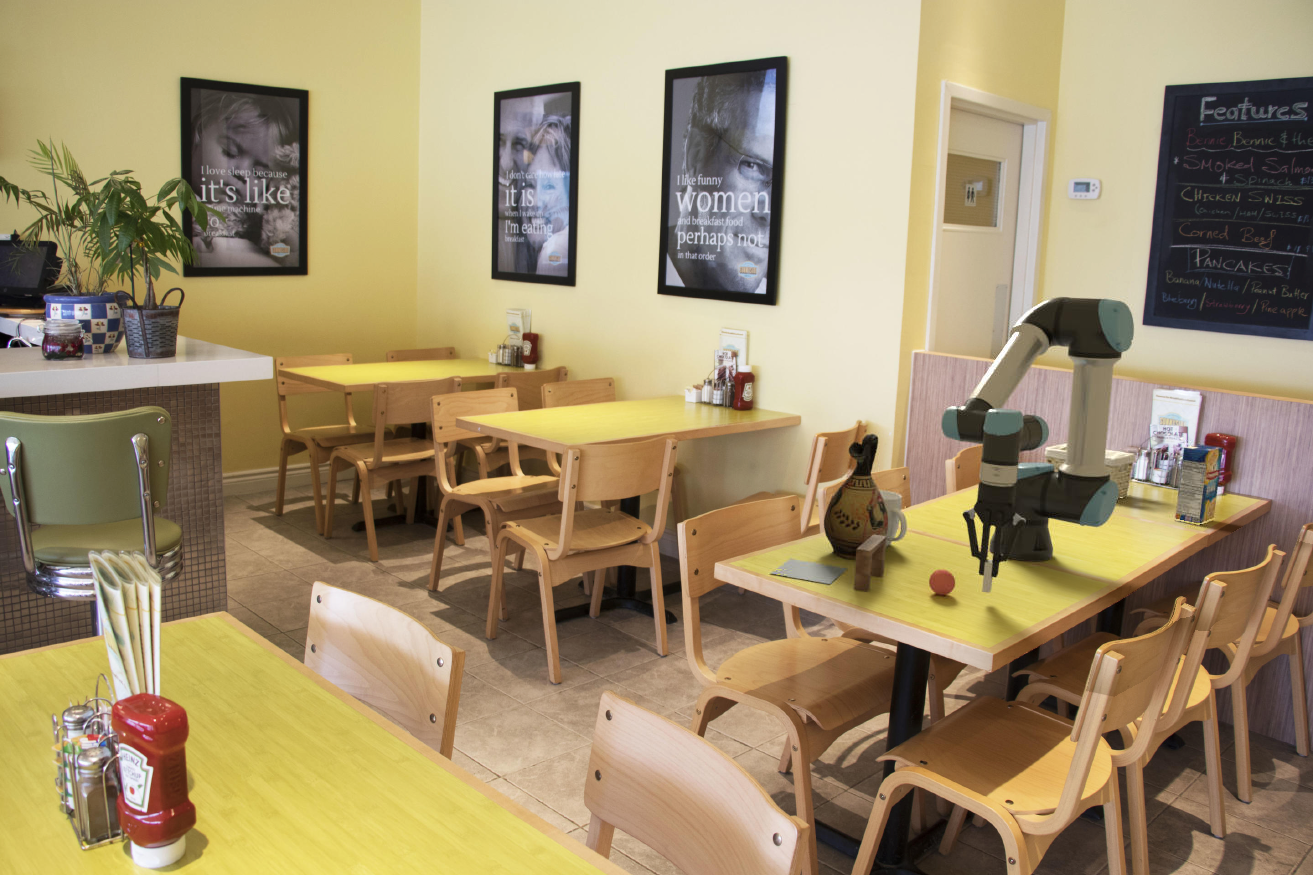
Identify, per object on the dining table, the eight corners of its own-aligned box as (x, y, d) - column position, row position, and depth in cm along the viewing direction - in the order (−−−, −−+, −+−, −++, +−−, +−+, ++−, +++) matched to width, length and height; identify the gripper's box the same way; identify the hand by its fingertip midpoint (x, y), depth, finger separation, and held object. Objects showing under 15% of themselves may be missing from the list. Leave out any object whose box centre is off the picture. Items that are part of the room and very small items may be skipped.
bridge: (883, 574, 237) (886, 536, 236) (867, 591, 224) (870, 550, 223) (870, 572, 239) (873, 534, 237) (853, 589, 226) (856, 548, 224)
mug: (918, 550, 260) (922, 499, 257) (887, 555, 254) (891, 504, 251) (875, 536, 272) (879, 487, 270) (845, 540, 266) (848, 491, 264)
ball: (956, 593, 226) (958, 568, 225) (951, 599, 221) (953, 575, 220) (930, 588, 228) (932, 564, 227) (925, 595, 223) (927, 571, 222)
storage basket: (1038, 490, 339) (1043, 446, 337) (1061, 484, 350) (1065, 442, 348) (1111, 504, 322) (1116, 458, 320) (1132, 498, 333) (1137, 453, 331)
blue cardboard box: (1174, 520, 303) (1183, 447, 299) (1189, 515, 310) (1198, 444, 306) (1198, 525, 298) (1208, 451, 294) (1213, 520, 305) (1223, 447, 301)
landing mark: (847, 569, 241) (847, 568, 241) (829, 584, 228) (829, 583, 228) (790, 559, 247) (790, 558, 247) (770, 574, 234) (770, 573, 234)
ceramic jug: (872, 567, 243) (882, 442, 238) (812, 555, 251) (820, 434, 246) (896, 552, 257) (906, 434, 252) (838, 541, 265) (846, 426, 260)
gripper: (962, 481, 216) (952, 589, 219) (1028, 489, 210) (1016, 600, 214) (968, 475, 222) (958, 580, 226) (1032, 483, 217) (1020, 591, 220)
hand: (986, 590), depth 220 cm, fingers closed
